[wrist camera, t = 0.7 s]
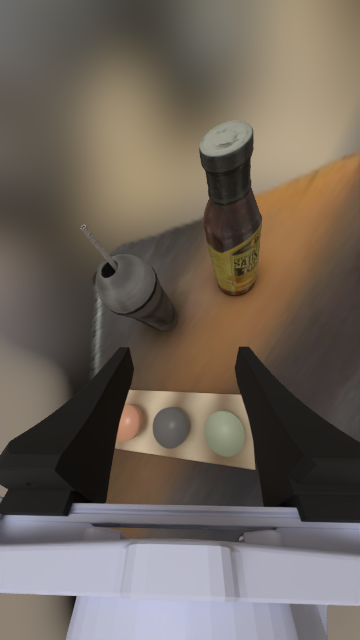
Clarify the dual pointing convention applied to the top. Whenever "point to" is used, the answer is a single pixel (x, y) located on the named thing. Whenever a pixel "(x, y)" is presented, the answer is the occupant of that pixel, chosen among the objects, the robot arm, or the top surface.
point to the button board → (198, 413)
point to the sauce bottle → (231, 206)
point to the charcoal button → (171, 427)
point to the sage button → (224, 433)
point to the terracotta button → (130, 423)
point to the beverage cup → (133, 289)
